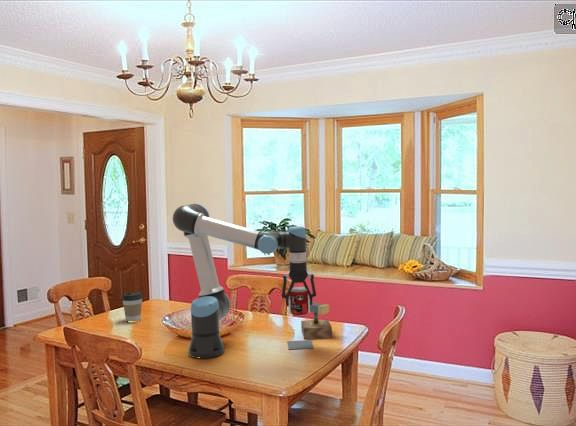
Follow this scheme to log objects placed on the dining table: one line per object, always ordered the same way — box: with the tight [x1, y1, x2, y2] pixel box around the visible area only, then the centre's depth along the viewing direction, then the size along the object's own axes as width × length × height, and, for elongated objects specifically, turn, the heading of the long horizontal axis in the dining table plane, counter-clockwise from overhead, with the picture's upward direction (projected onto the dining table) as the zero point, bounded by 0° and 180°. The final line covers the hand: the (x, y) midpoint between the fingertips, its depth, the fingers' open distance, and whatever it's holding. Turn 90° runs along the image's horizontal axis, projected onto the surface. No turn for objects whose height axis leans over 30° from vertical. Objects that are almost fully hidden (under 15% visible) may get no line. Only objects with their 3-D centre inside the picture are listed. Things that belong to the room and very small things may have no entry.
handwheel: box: [310, 301, 330, 323], centre depth 239 cm, size 12×5×9 cm, turn 46°
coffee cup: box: [121, 291, 144, 322], centre depth 272 cm, size 11×11×15 cm
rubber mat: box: [286, 339, 315, 351], centre depth 224 cm, size 11×11×1 cm
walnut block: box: [300, 319, 333, 340], centre depth 239 cm, size 13×13×5 cm
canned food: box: [289, 286, 309, 316], centre depth 222 cm, size 8×8×11 cm
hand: (299, 312), depth 223 cm, fingers closed on canned food, 8 cm apart
